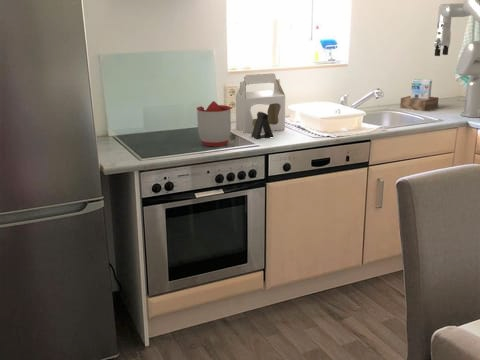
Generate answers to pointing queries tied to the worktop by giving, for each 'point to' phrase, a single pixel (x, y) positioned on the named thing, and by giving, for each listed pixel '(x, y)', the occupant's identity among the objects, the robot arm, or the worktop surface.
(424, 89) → the light bulb box
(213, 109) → the citrus juicer
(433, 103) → the walnut stand
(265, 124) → the black a-shaped stand
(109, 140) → the worktop surface
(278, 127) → the gable box
